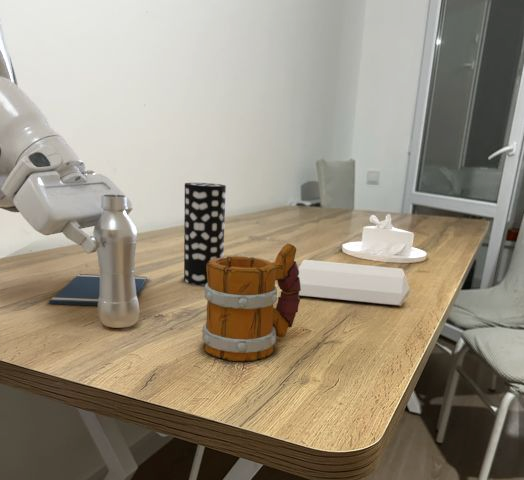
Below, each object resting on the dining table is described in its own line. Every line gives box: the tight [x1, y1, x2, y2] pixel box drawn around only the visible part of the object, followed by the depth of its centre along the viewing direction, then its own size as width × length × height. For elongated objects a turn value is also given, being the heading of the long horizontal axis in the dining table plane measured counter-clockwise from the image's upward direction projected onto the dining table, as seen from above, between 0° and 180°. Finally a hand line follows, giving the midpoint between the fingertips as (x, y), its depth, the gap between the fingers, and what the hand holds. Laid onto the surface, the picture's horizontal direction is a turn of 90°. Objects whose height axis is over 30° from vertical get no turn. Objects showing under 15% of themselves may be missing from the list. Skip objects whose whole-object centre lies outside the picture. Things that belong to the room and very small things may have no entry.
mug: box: [201, 243, 301, 362], centre depth 75 cm, size 11×16×15 cm, turn 125°
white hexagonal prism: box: [298, 259, 411, 307], centre depth 105 cm, size 7×7×24 cm
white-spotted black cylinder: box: [183, 182, 227, 287], centre depth 109 cm, size 8×8×20 cm
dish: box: [341, 213, 428, 264], centre depth 153 cm, size 25×25×11 cm
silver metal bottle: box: [93, 194, 140, 329], centre depth 79 cm, size 6×7×20 cm
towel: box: [48, 273, 148, 307], centre depth 101 cm, size 14×20×1 cm
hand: (113, 245), depth 78 cm, fingers open, 8 cm apart
